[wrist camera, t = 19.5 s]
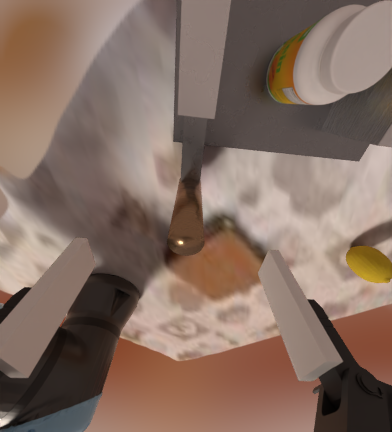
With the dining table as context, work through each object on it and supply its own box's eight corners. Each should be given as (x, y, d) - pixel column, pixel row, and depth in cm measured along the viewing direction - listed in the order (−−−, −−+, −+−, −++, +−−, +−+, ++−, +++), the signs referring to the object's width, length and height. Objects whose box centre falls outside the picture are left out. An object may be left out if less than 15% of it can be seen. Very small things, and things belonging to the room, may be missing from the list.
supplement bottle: (293, 21, 16) (392, -59, 8) (330, 60, 17) (446, 26, 9) (254, 84, 19) (299, 73, 10) (290, 113, 20) (353, 122, 12)
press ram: (179, 189, 25) (167, 254, 15) (189, -13, 15) (171, -305, 4) (199, 191, 25) (201, 256, 15) (223, -8, 15) (293, -274, 4)
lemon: (331, 249, 35) (362, 283, 29) (359, 232, 33) (400, 266, 26) (344, 260, 37) (377, 295, 31) (372, 245, 35) (413, 280, 28)
